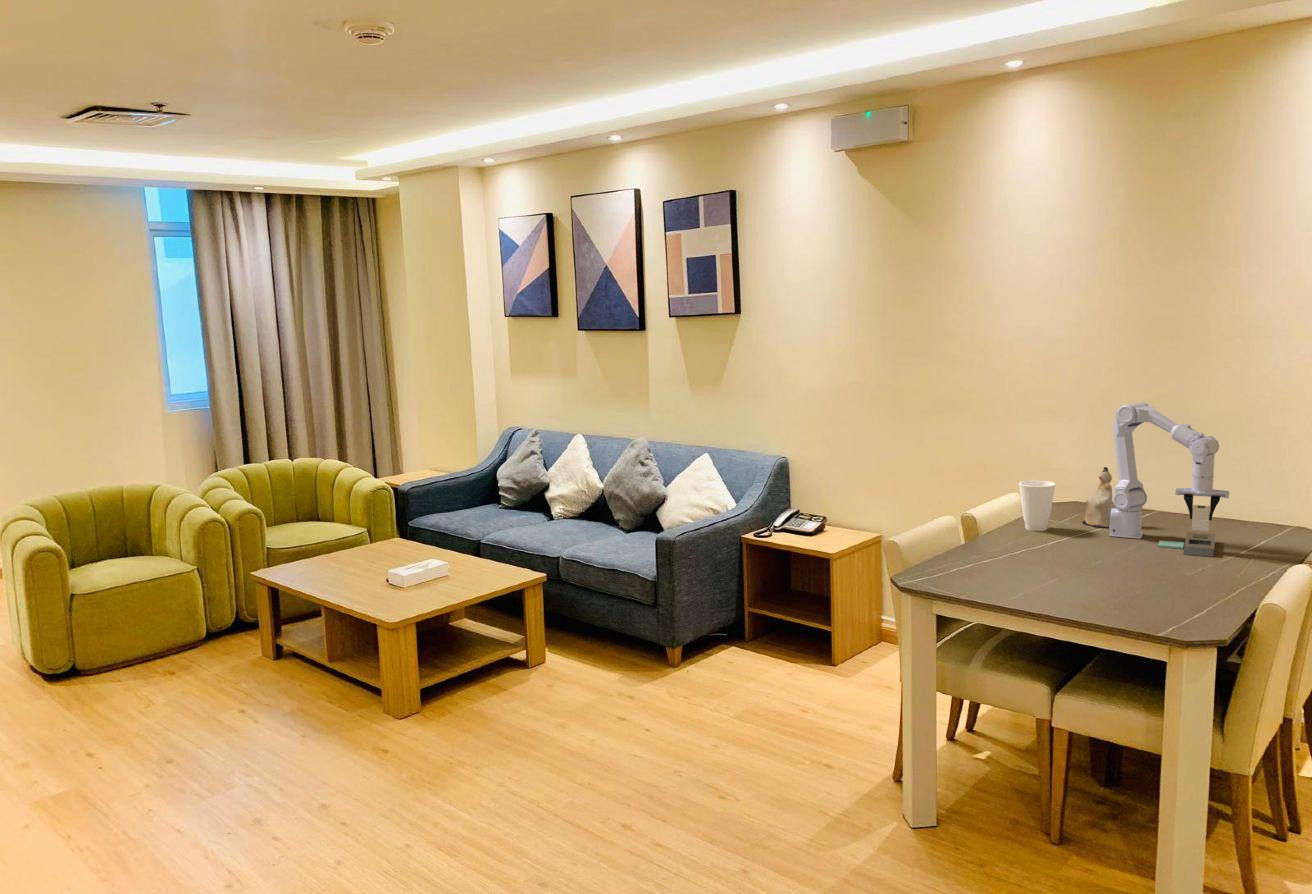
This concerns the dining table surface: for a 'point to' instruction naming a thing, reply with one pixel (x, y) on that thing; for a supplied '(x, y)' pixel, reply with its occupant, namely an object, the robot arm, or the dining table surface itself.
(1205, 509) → the cube with screw head
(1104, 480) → the figurine
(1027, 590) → the dining table surface
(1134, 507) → the robot arm
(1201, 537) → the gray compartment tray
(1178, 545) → the mat
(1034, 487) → the cup
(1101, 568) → the dining table surface
